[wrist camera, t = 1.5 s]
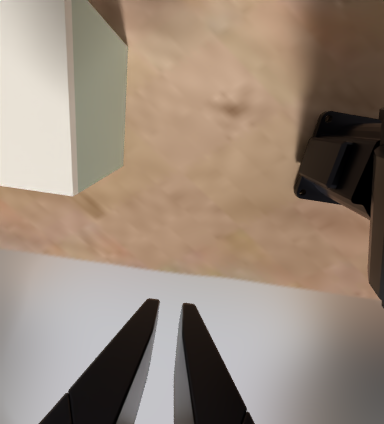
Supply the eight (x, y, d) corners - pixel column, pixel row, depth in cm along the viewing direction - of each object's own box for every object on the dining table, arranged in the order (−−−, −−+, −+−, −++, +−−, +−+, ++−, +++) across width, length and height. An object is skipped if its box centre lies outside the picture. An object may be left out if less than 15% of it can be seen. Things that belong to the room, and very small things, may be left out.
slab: (128, 47, 15) (63, -28, 8) (123, 166, 18) (73, 196, 10) (75, 37, 15) (-45, -49, 7) (79, 159, 18) (-5, 185, 10)
